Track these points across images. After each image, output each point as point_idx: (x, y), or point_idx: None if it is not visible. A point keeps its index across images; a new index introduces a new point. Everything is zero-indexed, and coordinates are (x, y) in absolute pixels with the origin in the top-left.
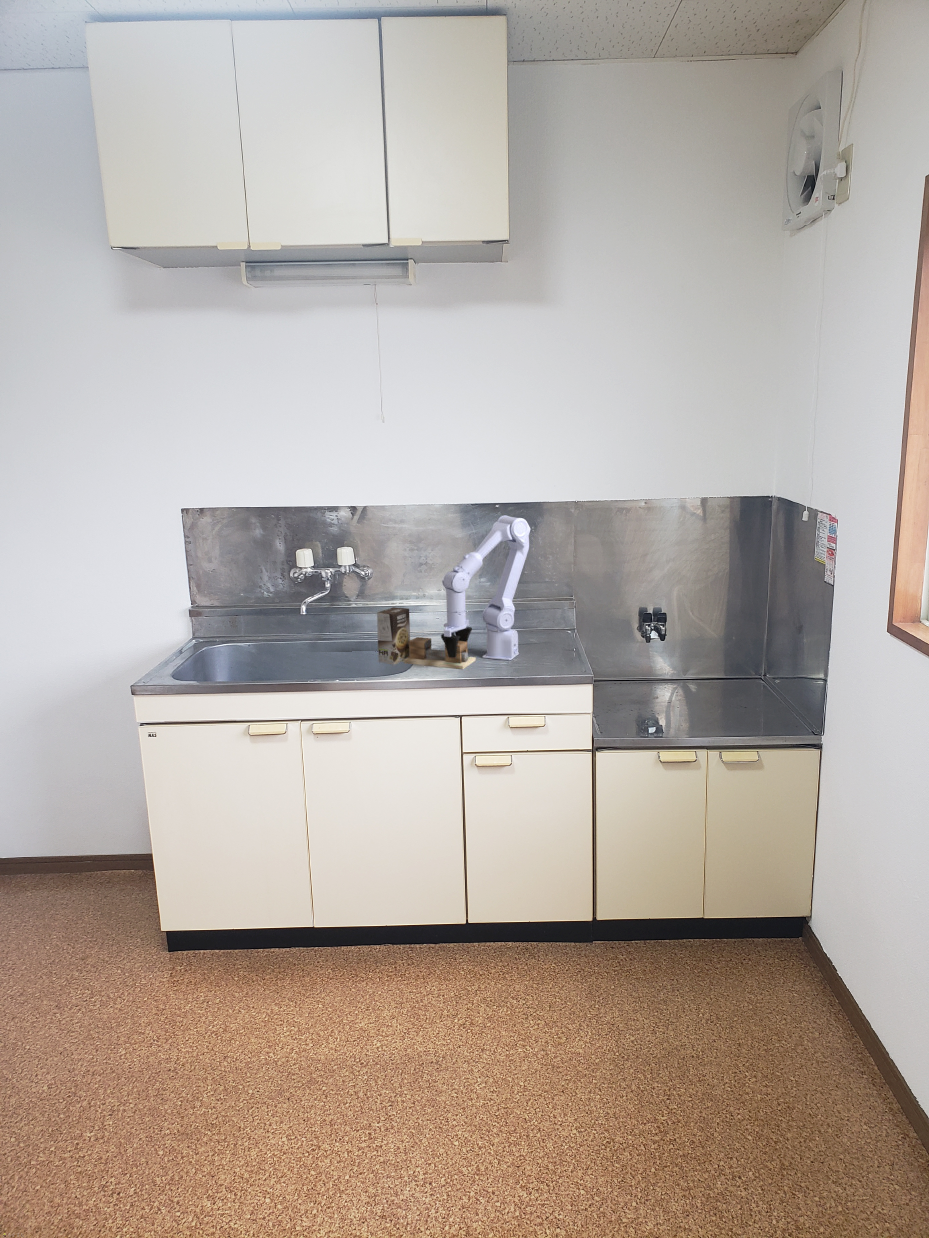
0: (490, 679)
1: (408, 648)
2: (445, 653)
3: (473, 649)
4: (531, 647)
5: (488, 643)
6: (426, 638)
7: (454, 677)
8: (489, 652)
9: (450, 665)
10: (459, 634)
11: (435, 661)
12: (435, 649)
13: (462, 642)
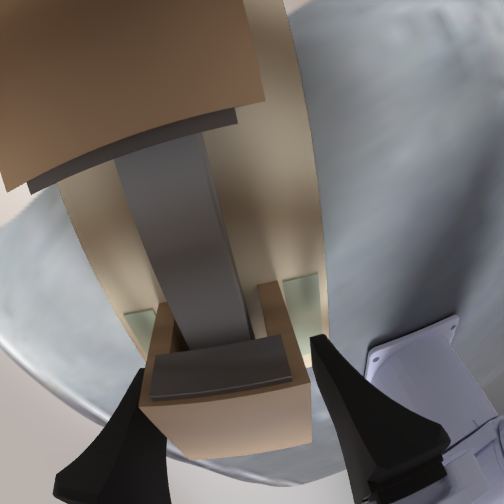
0: None
1: None
2: (150, 346)
3: (481, 230)
4: (486, 353)
5: (407, 406)
6: (212, 36)
7: (78, 392)
8: (385, 380)
9: (138, 347)
10: (354, 445)
11: (119, 248)
12: (207, 193)
13: (278, 441)
